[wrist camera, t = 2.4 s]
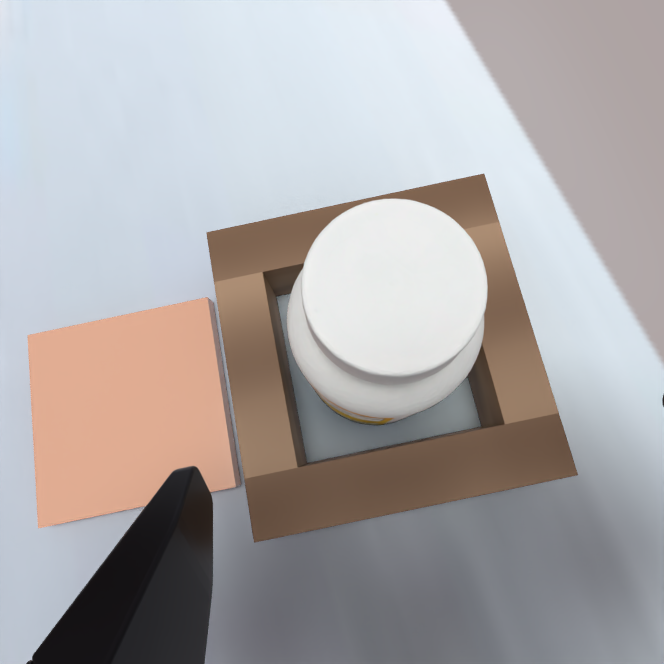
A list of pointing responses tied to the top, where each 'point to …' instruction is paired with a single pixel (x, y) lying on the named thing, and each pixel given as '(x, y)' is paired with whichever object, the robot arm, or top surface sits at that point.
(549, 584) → the top surface
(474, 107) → the top surface
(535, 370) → the pocket block
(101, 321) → the coaster
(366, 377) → the supplement bottle
